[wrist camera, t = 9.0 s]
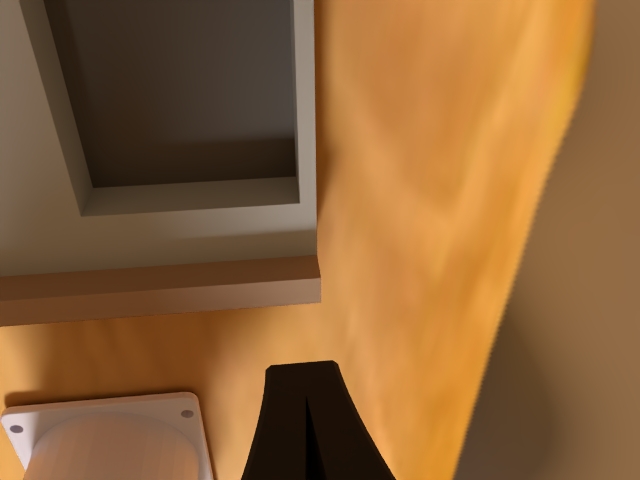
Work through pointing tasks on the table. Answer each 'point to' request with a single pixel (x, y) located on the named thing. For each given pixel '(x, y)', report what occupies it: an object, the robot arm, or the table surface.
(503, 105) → the table surface
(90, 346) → the table surface
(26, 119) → the grey long tray
